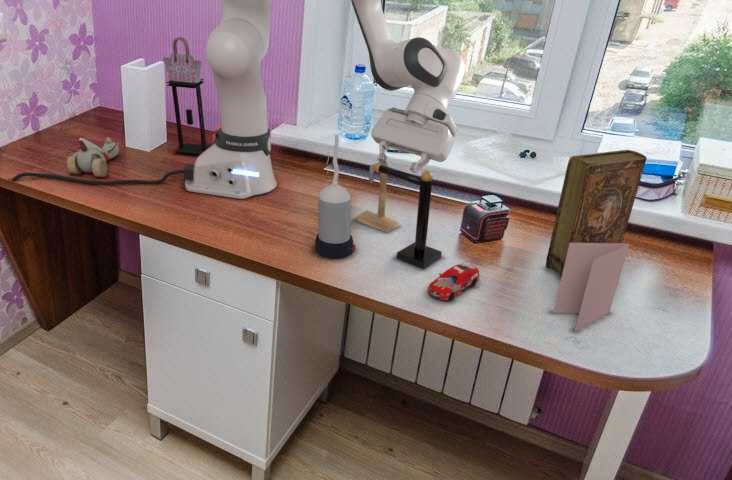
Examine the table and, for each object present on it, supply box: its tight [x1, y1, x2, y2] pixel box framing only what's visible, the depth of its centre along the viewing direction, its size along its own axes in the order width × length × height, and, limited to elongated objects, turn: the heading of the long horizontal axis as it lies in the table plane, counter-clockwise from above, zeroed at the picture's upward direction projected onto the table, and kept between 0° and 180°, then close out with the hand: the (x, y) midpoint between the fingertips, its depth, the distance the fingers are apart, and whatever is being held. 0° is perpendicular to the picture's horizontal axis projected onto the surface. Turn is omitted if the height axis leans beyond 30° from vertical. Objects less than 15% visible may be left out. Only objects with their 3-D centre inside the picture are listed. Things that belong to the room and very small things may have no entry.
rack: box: [373, 162, 443, 270], centre depth 135 cm, size 7×16×20 cm, turn 56°
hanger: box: [356, 160, 399, 233], centre depth 147 cm, size 6×9×15 cm, turn 56°
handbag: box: [162, 36, 211, 157], centre depth 174 cm, size 10×8×30 cm
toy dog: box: [66, 137, 120, 178], centre depth 165 cm, size 12×19×9 cm, turn 19°
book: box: [545, 149, 647, 278], centre depth 133 cm, size 16×6×25 cm, turn 117°
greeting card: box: [552, 242, 630, 332], centre depth 118 cm, size 11×7×15 cm, turn 97°
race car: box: [427, 263, 480, 302], centre depth 128 cm, size 13×5×4 cm, turn 140°
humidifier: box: [314, 134, 356, 260], centre depth 132 cm, size 8×8×25 cm
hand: (396, 166), depth 149 cm, fingers open, 8 cm apart
